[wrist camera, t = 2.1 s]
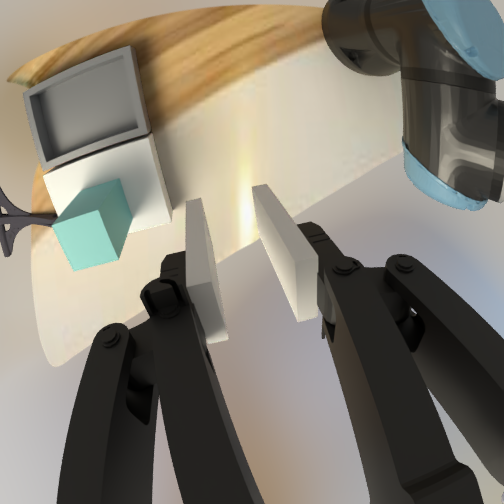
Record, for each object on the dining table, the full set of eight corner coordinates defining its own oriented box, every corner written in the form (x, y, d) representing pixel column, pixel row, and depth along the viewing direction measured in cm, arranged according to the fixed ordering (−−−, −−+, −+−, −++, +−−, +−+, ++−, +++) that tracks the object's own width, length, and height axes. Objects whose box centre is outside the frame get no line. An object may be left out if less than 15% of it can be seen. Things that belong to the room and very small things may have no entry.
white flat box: (152, 132, 35) (148, 137, 31) (172, 210, 41) (171, 222, 38) (54, 167, 33) (42, 175, 30) (80, 236, 40) (72, 249, 37)
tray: (135, 48, 28) (129, 45, 25) (151, 129, 34) (147, 133, 31) (34, 91, 26) (22, 93, 23) (53, 164, 33) (43, 171, 30)
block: (119, 178, 33) (98, 209, 25) (133, 218, 36) (118, 259, 28) (80, 191, 33) (51, 225, 24) (95, 229, 36) (73, 271, 28)
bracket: (70, 254, 42) (65, 263, 39) (6, 252, 38) (0, 260, 36) (60, 172, 35) (52, 178, 32) (-9, 178, 31) (-17, 183, 29)
